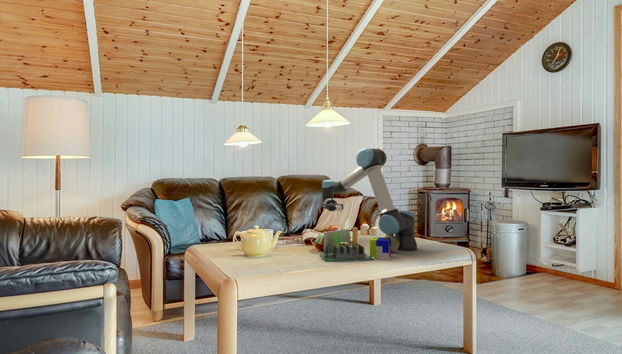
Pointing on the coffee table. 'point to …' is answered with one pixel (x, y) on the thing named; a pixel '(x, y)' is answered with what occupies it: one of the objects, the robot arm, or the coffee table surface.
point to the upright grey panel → (335, 239)
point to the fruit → (393, 242)
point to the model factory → (348, 251)
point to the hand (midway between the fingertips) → (339, 208)
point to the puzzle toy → (380, 247)
